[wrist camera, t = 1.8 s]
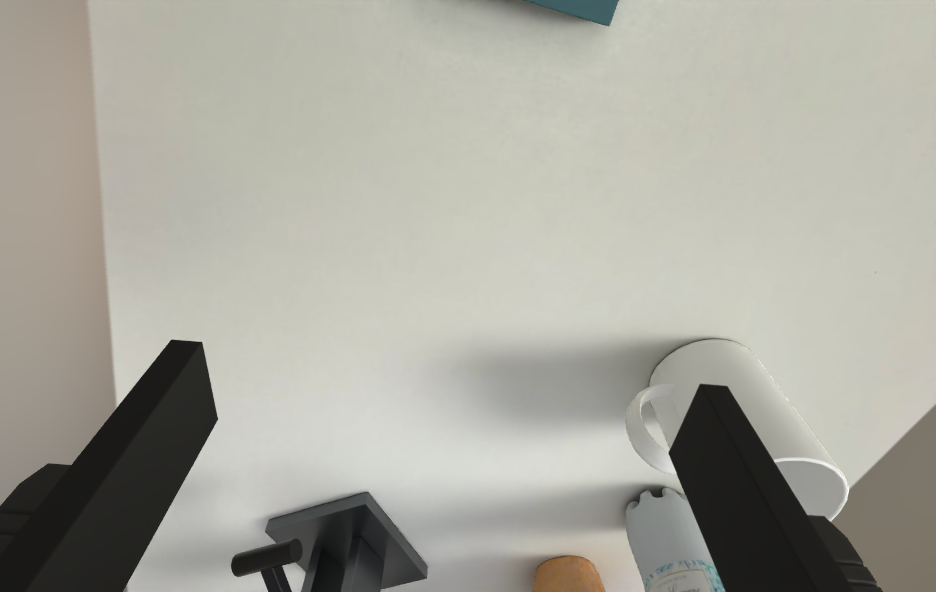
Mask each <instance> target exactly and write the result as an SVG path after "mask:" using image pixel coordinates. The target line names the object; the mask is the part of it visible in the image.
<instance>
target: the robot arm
mask: <svg viewBox="0 0 936 592" xmlns="http://www.w3.org/2000/svg"><path fill="white" fill-rule="evenodd" d="M217 420H218V417H217V412H216V408H215V403H214V398H213V393H212V388H211V383H210V378H209V373H208V368H207V363H206V358H205V354H204V349H203V344H202V342H194V341H182V340H171V341H170V342H169V343H168V345H167V346H166V347H165V348H164V350H163V351H162V352H161V353H160V355H159V356H158V357H157V358H156V360H155V361H154V362H153V363H152V365H151V366H150V367H149V368H148V370H147V371H146V372H145V373H144V375H143V376H142V377H141V378H140V380H139V381H138V382H137V383H136V385H135V386H134V387H133V388H132V390H131V391H130V392H129V393H128V395H127V396H126V397H125V398H124V400H123V401H122V402H121V403H120V405H119V406H118V407H117V409H116V410H115V411H114V413H113V414H112V415H111V416H110V417H109V419H108V420H107V421H106V422H105V424H104V425H103V426H102V427H101V429H100V430H99V431H98V432H97V434H96V435H95V436H94V437H93V439H92V440H91V441H90V443H89V444H88V445H87V446H86V448H85V449H84V450H83V451H82V452H81V454H80V455H79V456H78V457H77V459H76V460H75V461H74V462H73V464H72V465H62V464H61V465H60V464H47V465H45V466H44V467H43V468H41V469H40V470H38V471H37V472H35V473H34V474H33V475H31V476H30V477H28V478H27V479H26V480H24V481H23V482H21V483H20V484H19V485H18V486H17V487H16V489H15V490H14V491H13V492H12V493H11V494H10V495H9V497H8V498H7V499H6V500H5V501H4V502H3V503H2V505H1V506H0V592H123V590H124V588H125V587H126V585H127V583H128V581H129V579H130V578H131V576H132V574H133V572H134V570H135V569H136V567H137V565H138V563H139V561H140V560H141V558H142V556H143V554H144V552H145V551H146V549H147V547H148V545H149V543H150V541H151V540H152V538H153V536H154V534H155V532H156V531H157V529H158V527H159V525H160V523H161V522H162V520H163V518H164V516H165V514H166V513H167V511H168V509H169V507H170V505H171V504H172V502H173V500H174V498H175V496H176V494H177V493H178V491H179V489H180V487H181V485H182V484H183V482H184V480H185V478H186V476H187V475H188V473H189V471H190V469H191V467H192V466H193V464H194V462H195V460H196V458H197V457H198V455H199V453H200V451H201V449H202V447H203V446H204V444H205V442H206V440H207V438H208V437H209V435H210V433H211V431H212V429H213V428H214V426H215V424H216V422H217ZM668 454H669V456H670V459H671V461H672V464H673V466H674V468H675V471H676V473H677V476H678V478H679V480H680V483H681V485H682V488H683V490H684V493H685V495H686V497H687V500H688V502H689V505H690V507H691V510H692V512H693V514H694V517H695V519H696V522H697V524H698V526H699V529H700V531H701V534H702V536H703V539H704V541H705V543H706V546H707V548H708V551H709V553H710V556H711V558H712V560H713V563H714V565H715V568H716V570H717V573H718V575H719V577H720V580H721V582H722V585H723V587H724V589H725V592H883V591H882V590H881V588H880V587H877V585H876V581H875V579H874V578H873V576H872V575H871V573H870V572H869V570H868V569H867V568H866V567H864V566H863V561H862V560H861V558H860V557H859V555H858V554H857V552H856V550H855V549H854V548H853V546H852V544H851V543H850V542H849V540H848V538H847V537H845V535H844V534H843V533H841V532H840V531H839V530H838V529H837V528H836V527H835V526H834V525H833V524H832V523H831V522H830V521H829V520H828V519H827V518H826V517H825V516H817V515H807V513H806V512H805V510H804V509H803V507H802V505H801V504H800V502H799V501H798V499H797V497H796V496H795V494H794V493H793V491H792V489H791V488H790V486H789V484H788V483H787V481H786V480H785V478H784V476H783V475H782V473H781V472H780V470H779V468H778V467H777V465H776V464H775V462H774V460H773V459H772V457H771V455H770V454H769V452H768V451H767V449H766V447H765V446H764V444H763V443H762V441H761V439H760V438H759V436H758V434H757V433H756V431H755V430H754V428H753V426H752V425H751V423H750V422H749V420H748V418H747V417H746V415H745V414H744V412H743V410H742V409H741V407H740V405H739V404H738V402H737V401H736V399H735V397H734V396H733V394H732V393H731V391H730V389H729V388H728V386H723V385H711V384H699V387H698V389H697V391H696V393H695V396H694V398H693V400H692V402H691V404H690V407H689V409H688V411H687V413H686V415H685V418H684V420H683V422H682V424H681V426H680V429H679V431H678V433H677V435H676V438H675V440H674V442H673V444H672V446H671V449H670V451H669V453H668Z"/></svg>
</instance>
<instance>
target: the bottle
mask: <svg viewBox="0 0 936 592" xmlns="http://www.w3.org/2000/svg"><path fill="white" fill-rule="evenodd" d="M662 496H663V497H659V498H655V497H653V496H652V494H651V493H650V491H645V492H643V493H641V495H640V502H639V504H638V502H635V501H633V502H630V503H629V505H628V507H627V509H626V531H627V536H628V540H629V544H630V547H631V550H632V553H633V555H634V558H635V561H636V564H637V566H638V569H639V572H640V575H641V577H642V581H643V584H644V588H645V592H725V589H724V587H723V585H722V582H721V580H720V577H719V575H718V573H717V570H716V568H715V565H714V563H713V560H712V558H711V556H710V553H709V551H708V548H707V546H706V543H705V541H704V539H703V536H702V534H701V531H700V529H699V526H698V524H697V522H696V519H695V517H694V514H693V512H692V510H691V507H690V505H689V502H688V500H687V497H686V495H683V494H680V495H678V494H677V493H676V492H675V491H674V490H673V489H670V488H664V489H663V490H662Z"/></svg>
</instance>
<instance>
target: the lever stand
mask: <svg viewBox="0 0 936 592" xmlns="http://www.w3.org/2000/svg"><path fill="white" fill-rule="evenodd" d="M265 532H266V533H267V534H268V535H269V536H270V537H271V538H272V539H273V540H274V541H275V542H276V543H279V542H283V541H286V540H290V539H294V538H297V539H299V540H300V542H301V544H302V547H303V554H302V557H301V559H300V560H299V561H298V562H296V563H297V564H298V565H299V566H300V567H301V568H302V569H303V570H304V571H305V572H306V576H305V579H304V583H303V587H302V590H301V592H380V590H381V589H385V588H389V587H393V586H398V585H402V584H406V583H410V582H414V581H418V580H423V579H427V568H428V567H427V565H426V564H425V563H424V561H423V560H422V559H421V558H420V556H419V555H418V554H417V553H416V551H415V550H414V549H413V548H412V546H411V545H410V544H409V543H408V541H407V540H406V539H405V538H404V536H403V535H402V534H401V533H400V531H399V530H398V529H397V528H396V526H395V525H394V524H393V523H392V521H391V520H390V519H389V518H388V516H387V515H386V514H385V513H384V511H383V510H382V509H381V508H380V506H379V505H378V504H377V503H376V501H375V500H374V499H373V498H372V496H371V495H370V494H369V493H368V492H366V493H362V494H359V495H355V496H352V497H348V498H344V499H341V500H337V501H334V502H330V503H327V504H323V505H320V506H316V507H313V508H309V509H306V510H302V511H299V512H295V513H292V514H288V515H285V516H281V517H278V518H274V519H271V520H269V522H268V525H267V527H266V530H265Z"/></svg>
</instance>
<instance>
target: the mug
mask: <svg viewBox="0 0 936 592" xmlns="http://www.w3.org/2000/svg"><path fill="white" fill-rule="evenodd" d="M699 384H711V385H723V386H728V388H729V389H730V391H731V393H732V394H733V396H734V397H735V399H736V401H737V402H738V404H739V405H740V407H741V409H742V410H743V412H744V414H745V415H746V417H747V418H748V420H749V422H750V423H751V425H752V426H753V428H754V430H755V431H756V433H757V434H758V436H759V438H760V439H761V441H762V443H763V444H764V446H765V447H766V449H767V451H768V452H769V454H770V455H771V457H772V459H773V460H774V462H775V464H776V465H777V467H778V468H779V470H780V472H781V473H782V475H783V476H784V478H785V480H786V481H787V483H788V484H789V486H790V488H791V489H792V491H793V493H794V494H795V496H796V497H797V499H798V501H799V502H800V504H801V505H802V507H803V509H804V510H805V512H806V513H807V515H817V516H825V517H826V518H827V519H828V520H829V521H831V520H832V519H833V518H834V517H835V516H836V515H837V514H838V513H839V512H840V511H841V509H842V507H843V506H844V504H845V502H846V501H847V496H848V491H849V487H848V483H847V480H846V477H845V476H844V474H843V473H842V472H841V470H840V469H839V468H838V466H837V465H836V463H835V462H834V461H833V459H832V458H831V457H830V455H829V454H828V453H827V451H826V450H825V449H824V447H823V446H822V445H821V443H820V442H819V441H818V439H817V438H816V436H815V435H814V434H813V432H812V431H811V430H810V428H809V427H808V426H807V424H806V423H805V422H804V420H803V419H802V418H801V416H800V415H799V414H798V412H797V411H796V409H795V408H794V407H793V405H792V404H791V403H790V401H789V400H788V399H787V397H786V396H785V395H784V393H783V392H782V391H781V389H780V388H779V387H778V385H777V384H776V383H775V381H774V380H773V378H772V377H771V376H770V374H769V373H768V372H767V370H766V369H765V368H764V366H763V365H762V364H761V362H760V361H759V360H758V358H757V357H756V356H755V355H754V354H753V353H752V352H751V350H750V349H748V348H746V347H744V346H742V345H740V344H739V343H736V342H732V341H728V340H723V339H708V340H703V341H698V342H693V343H691V344H688V345H686V346H683V347H681V348H679V349H677V350H676V351H674V352H673V353H671V354H669V355H668V356H667V357H666V358H665V359H664V360H663V361H662V362H661V363H660V364H659V365H658V366H657V367H656V369H655V371H654V372H653V374H652V376H651V379H650V383H649V387H648V388H646V389H644V390H643V391H641V392H639V393H638V395H637V396H636V397H635V398H634V400H633V401H632V402H631V404H630V405H629V406H628V408H627V413H626V429H627V433H628V437H629V440H630V442H631V444H632V446H633V447H634V449H635V451H636V452H637V453H638V454H639V456H640V457H641V458H642V459H643V460H644V461H645V462H647V463H648V464H649V465H650V466H651V467H653V468H655V469H657V470H659V471H661V472H664V473H668V474H675V475H677V473H676V471H675V468H674V466H673V464H672V461H671V459H670V456H669V454H668V453H669V451H667V450H665V449H664V448H663V447H661V446H660V445H659V444H658V443H657V442H656V441H655V440H654V439H653V438H652V437H651V436H650V434H649V433H648V431H647V429H646V428H645V425H644V422H643V420H642V415H641V407H642V405H643V404H644V403H646V402H648V401H650V403H651V405H652V407H653V410H654V412H655V415H656V417H657V419H658V422H659V424H660V427H661V429H662V431H663V434H664V436H665V439H666V441H667V443H668V446H669V448H670V449H671V446H672V444H673V442H674V440H675V438H676V435H677V433H678V431H679V429H680V426H681V424H682V422H683V420H684V418H685V415H686V413H687V411H688V409H689V407H690V404H691V402H692V400H693V398H694V396H695V393H696V391H697V389H698V387H699Z"/></svg>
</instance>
